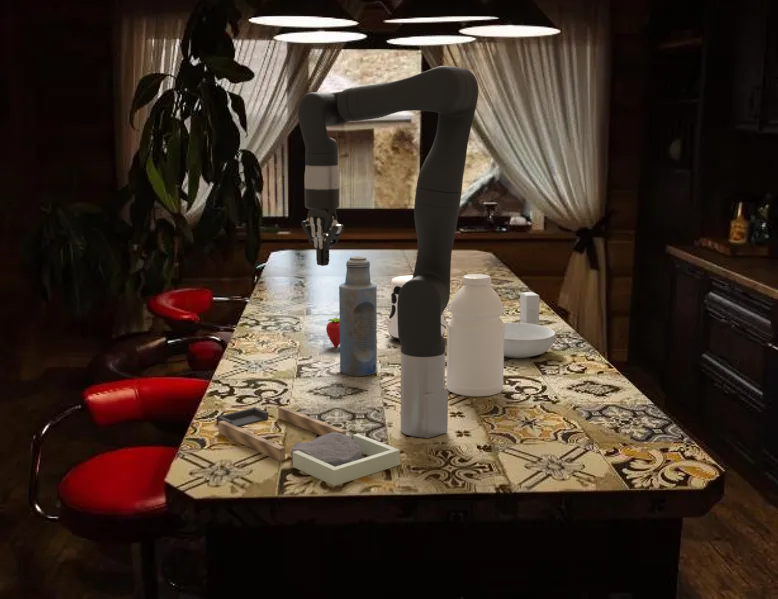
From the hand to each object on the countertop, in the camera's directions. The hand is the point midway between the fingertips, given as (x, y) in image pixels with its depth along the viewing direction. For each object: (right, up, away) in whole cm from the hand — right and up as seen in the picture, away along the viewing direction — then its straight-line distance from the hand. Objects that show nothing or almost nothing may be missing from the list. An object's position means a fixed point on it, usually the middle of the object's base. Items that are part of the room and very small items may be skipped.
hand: (322, 265), depth 213 cm
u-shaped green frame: (+6, -39, -29) cm, 49 cm away
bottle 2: (+36, -30, +22) cm, 51 cm away
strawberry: (0, -21, +63) cm, 66 cm away
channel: (-8, -36, -13) cm, 39 cm away
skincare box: (+57, -18, +82) cm, 101 cm away
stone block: (+3, -39, -26) cm, 47 cm away
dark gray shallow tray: (-17, -34, -3) cm, 38 cm away
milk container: (+23, -20, +73) cm, 79 cm away
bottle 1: (+7, -26, +37) cm, 46 cm away
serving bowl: (+50, -23, +56) cm, 79 cm away
